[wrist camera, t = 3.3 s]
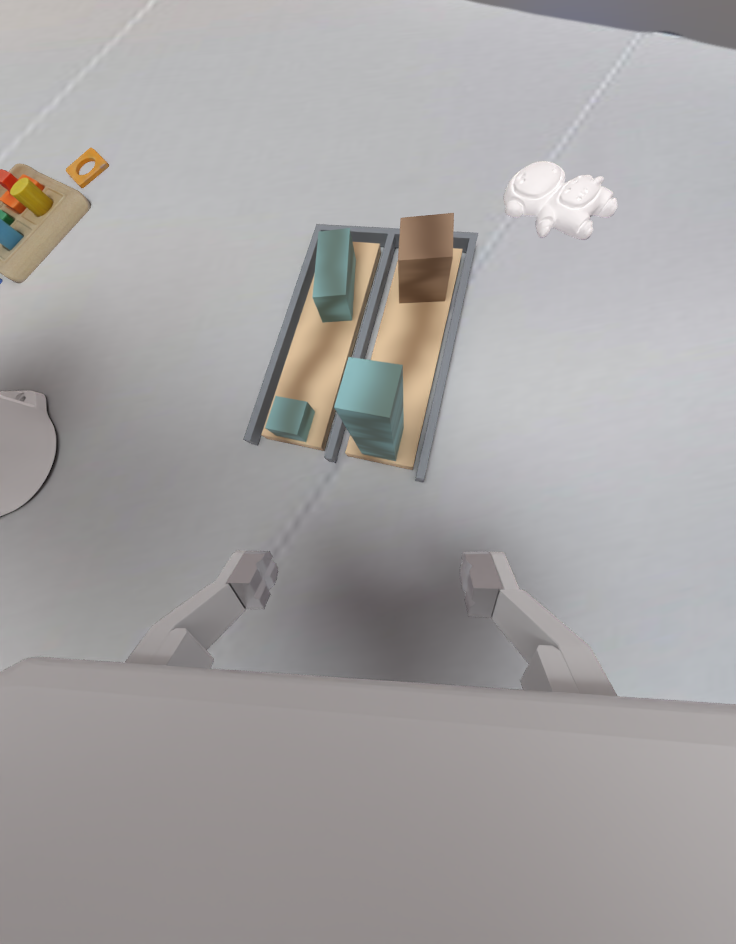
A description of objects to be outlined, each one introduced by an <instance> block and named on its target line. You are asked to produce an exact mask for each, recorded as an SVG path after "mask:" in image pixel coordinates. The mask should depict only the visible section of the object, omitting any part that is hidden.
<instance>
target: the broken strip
mask: <svg viewBox="0 0 736 944" xmlns="http://www.w3.org/2000/svg"><path fill="white" fill-rule="evenodd" d="M380 255H381V250H380V244H379V243H364V242H353V241H352V236H351V231H350V228H345V229H336V230H328V231H319V232H318V243H317V253H316V264H315V273H314V277H313V280H312V283H311V286H310V289H309V292H308V295H307V298H306V301H305V304H304V307H303V310H302V313H301V316H300V319H299V322H298V325H297V328H296V331H295V334H294V337H293V340H292V343H291V346H290V349H289V352H288V355H287V358H286V361H285V364H284V367H283V371H282V374H281V377H280V380H279V383H278V386H277V389H276V392H275V395H274V398H273V401H272V404H271V407H270V410H269V413H268V416H267V419H266V422H265V425H264V428H263V431H262V434H261V435H262V436H264V437H265V438H267V439H272V440H276V441H281V442H286V443H290V444H295V445H299V446H304V447H309V448H313V449H318V450H322V451H324V450H325V446H326V443H327V439H328V436H329V432H330V429H331V425H332V422H333V418H334V415H335V412H336V410H335V408H334V406H335V402H336V399H337V395H338V392H339V388H340V385H341V382H342V378H343V375H344V371H345V368H346V364H347V361H348V357H351V356H352V352H353V349H354V345H355V342H356V338H357V335H358V331H359V328H360V324H361V321H362V317H363V314H364V310H365V307H366V303H367V300H368V296H369V293H370V289H371V286H372V282H373V279H374V275H375V272H376V269H377V265H378V262H379V258H380Z"/></svg>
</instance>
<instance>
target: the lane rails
mask: <svg viewBox="0 0 736 944" xmlns="http://www.w3.org/2000/svg"><path fill="white" fill-rule="evenodd" d="M345 228H350V231H351V236H352V241H353V242H364V243H379V244H380V247H384V250H383V253H382V257H381V260H380V264H379V267H378V271H377V274H376V278H375V281H374V285H373V288H372V292H371V295H370V299H369V302H368V306H367V309H366V313H365V316H364V320H363V323H362V327H361V330H360V334H359V337H358V341H357V344H356V348H355V351H354V355H353V358H360V359H364V358H365V355H366V351H367V348H368V344H369V340H370V337H371V333H372V330H373V326H374V322H375V319H376V315H377V312H378V308H379V304H380V301H381V297H382V294H383V290H384V286H385V283H386V279H387V276H388V272H389V268H390V265H391V261H392V258H393V254H394V250H395V248H399V237H400V229H397V228H379V227H360V226H342V225H324V224H316V227H315V230H314V233H313V236H312V239H311V242H310V245H309V248H308V251H307V254H306V257H305V260H304V263H303V266H302V268H301V271H300V274H299V277H298V280H297V283H296V286H295V289H294V292H293V295H292V298H291V301H290V304H289V307H288V310H287V313H286V316H285V318H284V321H283V324H282V327H281V330H280V333H279V336H278V339H277V342H276V345H275V348H274V351H273V354H272V357H271V360H270V363H269V365H268V368H267V371H266V374H265V377H264V380H263V383H262V386H261V389H260V392H259V395H258V398H257V401H256V404H255V407H254V410H253V412H252V415H251V418H250V421H249V424H248V427H247V430H246V433H245V436H244V439H243V440H245V441H247V442H249V443H251V444H254V445H258V443H259V440H260V437H261V434H262V431H263V428H264V425H265V422H266V419H267V416H268V413H269V410H270V407H271V404H272V401H273V398H274V395H275V392H276V389H277V386H278V383H279V380H280V377H281V374H282V371H283V367H284V364H285V361H286V358H287V355H288V352H289V349H290V346H291V343H292V340H293V337H294V334H295V331H296V328H297V325H298V322H299V319H300V316H301V313H302V310H303V307H304V304H305V301H306V298H307V295H308V292H309V289H310V286H311V283H312V280H313V277H314V273H315V264H316V253H317V243H318V232H319V231H328V230H336V229H345ZM477 237H478V233H471V232H453V248H456V249H463V250H462V252H466V257H465V261H464V266H463V270H462V275H461V279H460V283H459V288H458V292H457V297H456V301H455V306H454V310H453V315H452V319H451V323H450V328H449V332H448V337H447V341H446V346H445V350H444V355H443V359H442V363H441V368H440V372H439V377H438V381H437V386H436V390H435V395H434V399H433V403H432V408H431V412H430V417H429V421H428V426H427V430H426V434H425V439H424V443H423V448H422V452H421V457H420V461H419V466H418V470H417V474H416V479H415V481H420V482H423V481H424V478H425V473H426V469H427V464H428V460H429V455H430V451H431V446H432V441H433V437H434V432H435V428H436V423H437V419H438V414H439V410H440V405H441V400H442V396H443V391H444V387H445V382H446V378H447V373H448V369H449V364H450V359H451V355H452V350H453V346H454V341H455V337H456V332H457V328H458V323H459V318H460V314H461V309H462V305H463V300H464V296H465V291H466V287H467V282H468V278H469V273H470V268H471V264H472V259H473V255H474V250H475V246H476V241H477ZM344 431H345V425H344V423H343V422H342V420H341V418H340V417H339V415H338V413H337V414H336V418H335V421H334V425H333V428H332V432H331V435H330V439H329V442H328V446H327V449H326V453H325V456H324V458H325V459H327V460H328V461H330V462H335V463H336V459H337V456H338V452H339V449H340V445H341V441H342V438H343V434H344Z"/></svg>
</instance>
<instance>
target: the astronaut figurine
mask: <svg viewBox="0 0 736 944" xmlns="http://www.w3.org/2000/svg"><path fill="white" fill-rule="evenodd" d="M603 181H604V178H603V177H601V176H599V177H596V178H595V179H594V180H593V177H592V176H591V175H581V176H578V177H576V178H574V179H572V180H570V181H568V182H566V183H565V184H564V182H565V173H564V171H563V169H562V168H561V167H559V166H558V165H556V164H554V163H552V162H547V161H540V162H535V163H533V164H530V165H528V166H526V167H525V168H523V169H522V170H520V171H519V172H518V173H516V174H515V175H514V176H513V178H512V179H511V180H510V182H509V183H508V185H507V187H506V190H505V193H504V198H503V199H504V204H505V205H506V207H505V213H506V214H507V215H508V216H510V217H513V218H518V217H520V216H522V215H523V216H536V217H537V220H536V231H537V233H538V235H539V237H540V238H543V237H546V236H547V235H548V233H549V232H550V230H551V228H554V229H557V230H559V231H561V232H563V233H565V234H566V235H569V236H571V237H574V238H577V239H581V240H585V239H587V238H588V237H589V236H590V235H591V234H592V232H593V228H592V225H593V222H592V221H589V220H590V216H591V215H592V216H599V217H602V218H609V217H611V216H612V215H613V214H614V212H615V211H616V209H617V206H618V205H617V199H616V198H612V197H613V192H612V191H611V190H609V189H607V188H605V187H603V186H600V185H601V184H602V182H603ZM611 198H612V199H611Z"/></svg>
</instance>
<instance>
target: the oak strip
mask: <svg viewBox="0 0 736 944" xmlns="http://www.w3.org/2000/svg"><path fill="white" fill-rule="evenodd" d="M462 250H463V249H456V248H453V259H452V265H451V270H450V276H449V282H448V287H447V293H446V298H445V301H442V302H420V303H399V279H398V262H397V265H396V269H395V273H394V276H393V280H392V284H391V287H390V291H389V295H388V298H387V302H386V306H385V309H384V313H383V317H382V320H381V324H380V328H379V331H378V335H377V339H376V342H375V346H374V350H373V353H372V357H371V360H366V359H360V358H353V357H348V361H347V364H346V368H345V371H344V375H343V378H342V382H341V385H340V388H339V392H338V395H337V399H336V402H335V406H334V408H335V410H336V412H337V413H338V415H339V417H340V418H341V420H342V422H343V423H344V425H345V427H346V428H347V430H348V432H349V433H350V437H349V441H348V445H347V448H346V452H345V453H346V455H347V456H350V457H355V458H359V459H364V460H369V461H373V462H378V463H382V464H387V465H392V466H396V467H401V468H405V469H410V470H413V465H414V461H415V457H416V452H417V448H418V443H419V439H420V435H421V430H422V426H423V421H424V417H425V413H426V408H427V404H428V400H429V395H430V391H431V386H432V382H433V378H434V373H435V369H436V365H437V360H438V356H439V351H440V347H441V343H442V338H443V334H444V329H445V325H446V321H447V316H448V312H449V308H450V303H451V299H452V294H453V290H454V286H455V281H456V277H457V273H458V268H459V264H460V259H461V255H462Z"/></svg>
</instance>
